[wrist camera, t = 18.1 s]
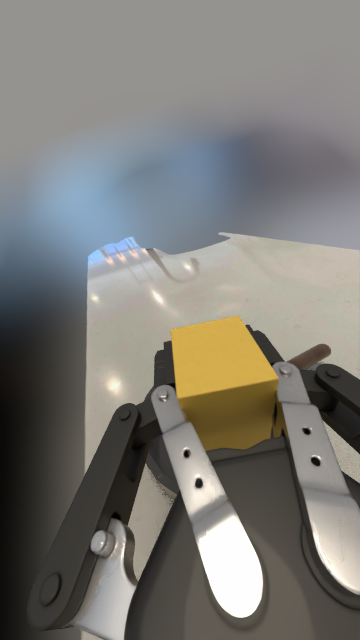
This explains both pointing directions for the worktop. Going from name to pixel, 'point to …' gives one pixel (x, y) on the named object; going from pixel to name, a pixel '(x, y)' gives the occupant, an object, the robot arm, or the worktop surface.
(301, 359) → the pan handle
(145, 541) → the worktop surface
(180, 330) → the cheese
